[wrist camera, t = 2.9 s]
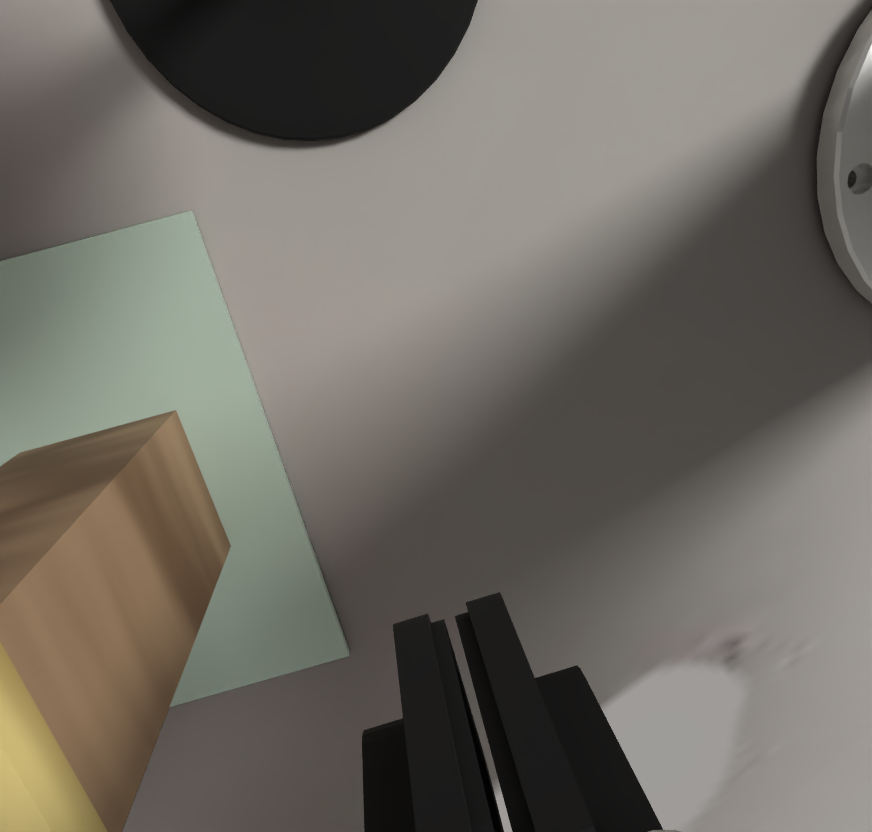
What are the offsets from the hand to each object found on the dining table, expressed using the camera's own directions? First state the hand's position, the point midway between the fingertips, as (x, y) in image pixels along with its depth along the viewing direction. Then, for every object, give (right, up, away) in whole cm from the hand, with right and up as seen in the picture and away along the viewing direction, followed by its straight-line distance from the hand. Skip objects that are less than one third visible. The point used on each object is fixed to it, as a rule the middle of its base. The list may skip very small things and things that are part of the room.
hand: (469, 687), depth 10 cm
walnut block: (-10, +1, +11) cm, 16 cm away
